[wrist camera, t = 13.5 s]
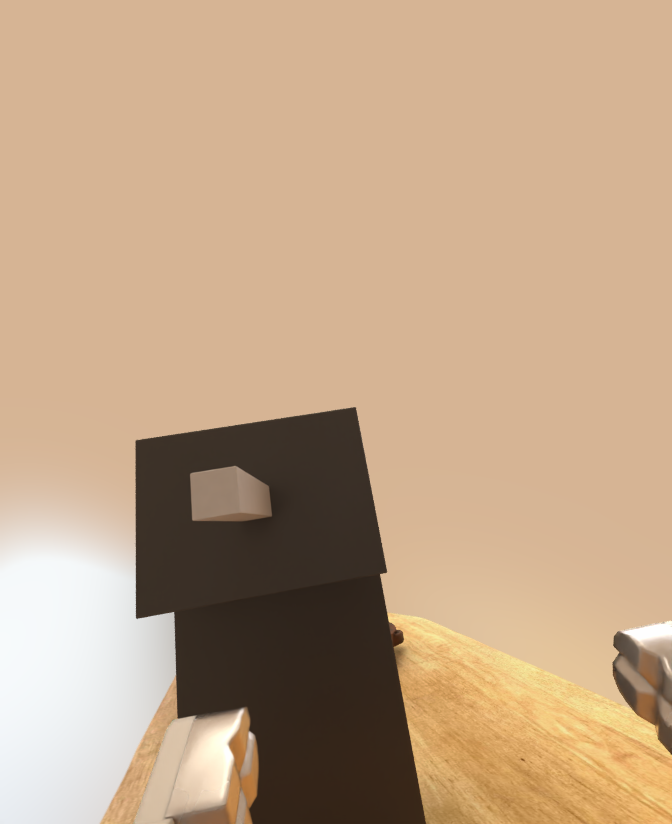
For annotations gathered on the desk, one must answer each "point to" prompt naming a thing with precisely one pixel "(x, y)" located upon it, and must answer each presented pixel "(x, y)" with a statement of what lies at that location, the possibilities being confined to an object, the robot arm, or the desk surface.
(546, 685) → the desk surface
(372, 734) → the cabinet
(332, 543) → the drawer
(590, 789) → the desk surface
